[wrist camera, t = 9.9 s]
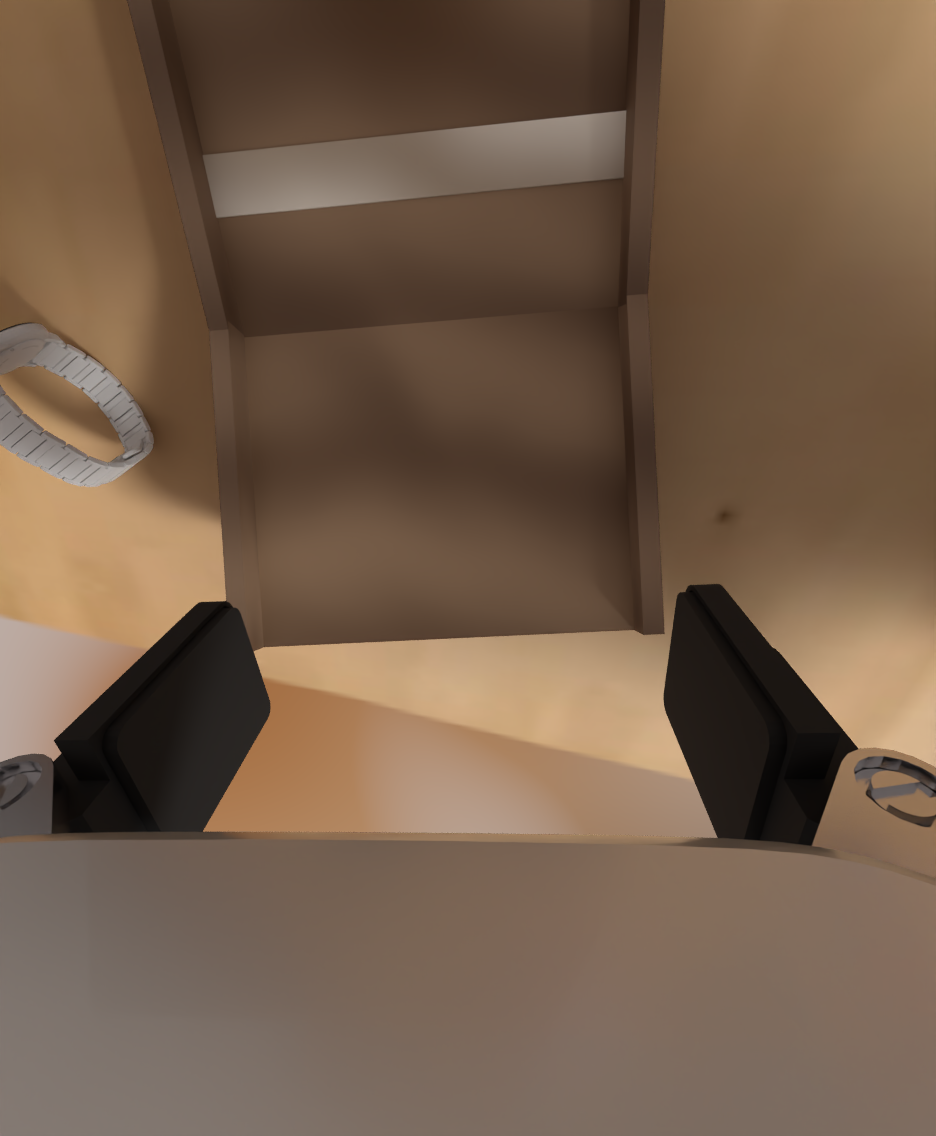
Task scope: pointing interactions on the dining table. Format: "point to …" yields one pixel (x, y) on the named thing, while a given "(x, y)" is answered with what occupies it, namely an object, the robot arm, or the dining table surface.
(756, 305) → the dining table surface
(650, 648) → the dining table surface
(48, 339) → the wristwatch
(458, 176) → the ramp
